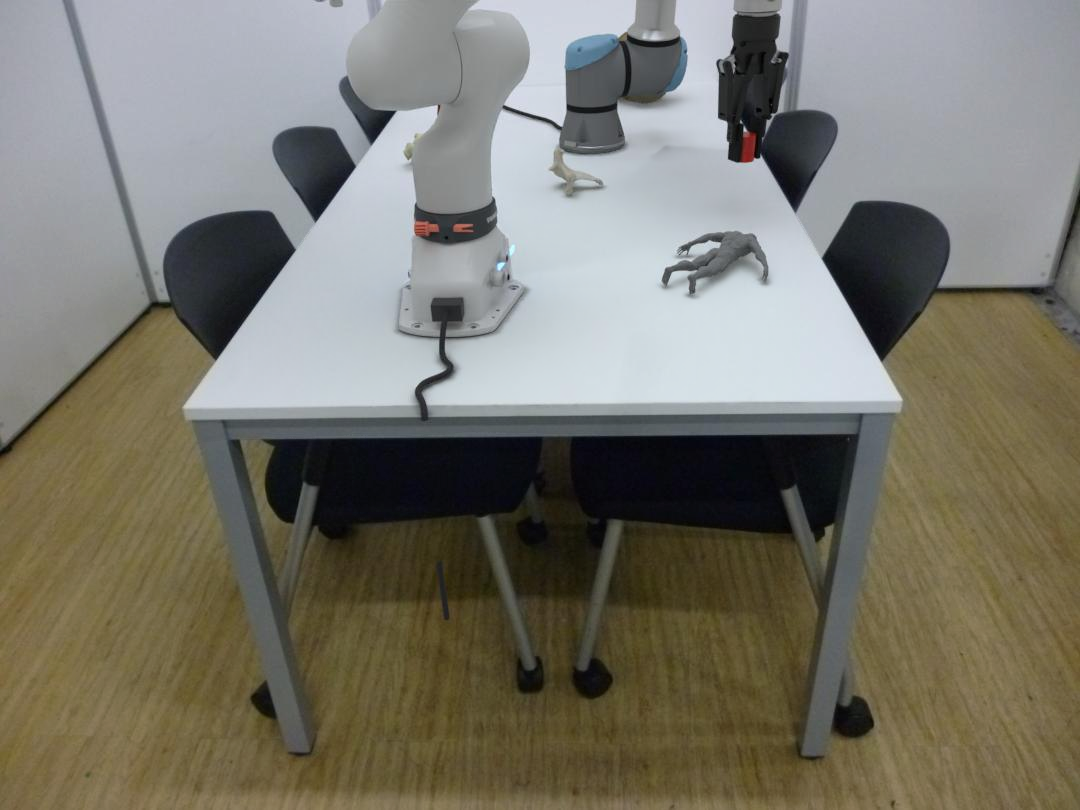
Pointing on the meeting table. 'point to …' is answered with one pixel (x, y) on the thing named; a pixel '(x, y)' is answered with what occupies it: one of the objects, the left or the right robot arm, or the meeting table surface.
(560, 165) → the bone
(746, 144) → the tin
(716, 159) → the meeting table surface
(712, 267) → the figurine
